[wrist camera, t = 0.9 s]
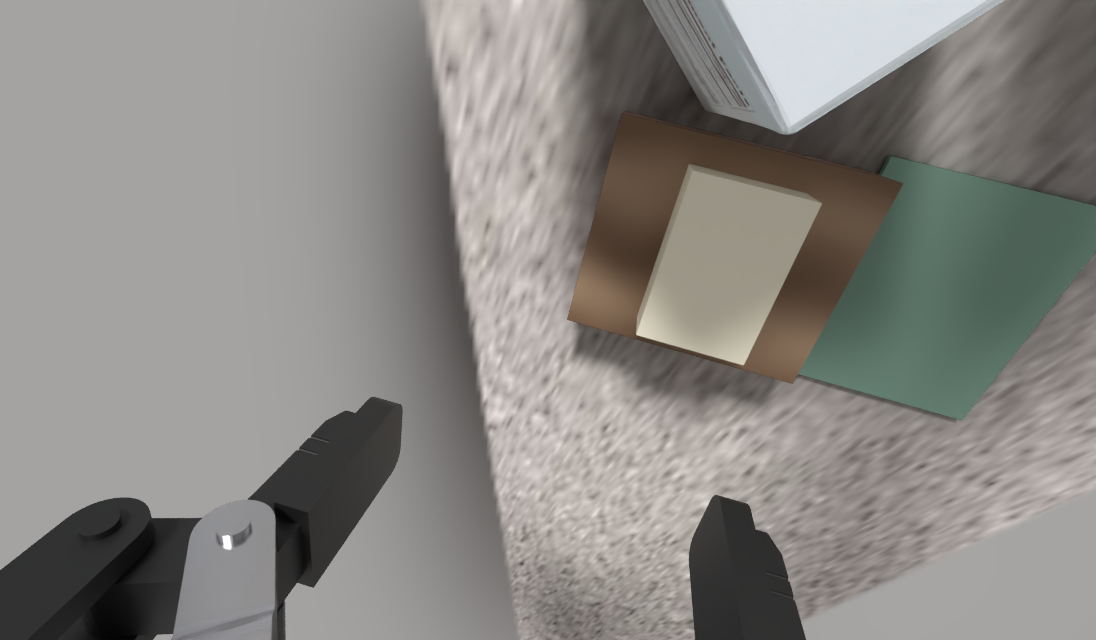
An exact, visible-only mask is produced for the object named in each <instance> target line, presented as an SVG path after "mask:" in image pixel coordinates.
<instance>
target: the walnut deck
mask: <svg viewBox="0 0 1096 640" xmlns="http://www.w3.org/2000/svg"><path fill="white" fill-rule="evenodd" d="M689 164H693V165H697V166H700V167H704V168H708V169H712V170H716V171H720V172H724V173H728V174H732V175H736V176H740V177H744V178H748V179H752V180H756V181H760V182H764V183H768V184H772V185H776V186H780V187H784V188H788V189H792V190H796V191H799V192H803V193H807V194H808V195H810V196H811V197H813V198H815V199H816V200H818V201H819V202H821V203H822V205H821V207H820V209H819V211H818V213H817V215H816V217H815V219H814V221H813V224H812V226H811V228H810V230H809V232H808V234H807V236H806V238H805V240H804V242H803V244H802V246H801V248H800V250H799V252H798V254H797V256H796V259H795V261H794V263H793V265H792V267H791V269H790V271H789V273H788V275H787V277H786V279H785V281H784V283H783V285H782V287H781V289H780V292H779V294H778V296H777V298H776V300H775V302H774V304H773V306H772V308H771V310H770V312H769V314H768V316H767V318H766V320H765V322H764V324H763V327H762V329H761V331H760V333H759V335H758V337H757V339H756V341H755V343H754V345H753V347H752V349H751V351H750V353H749V355H748V357H747V360H746V362H745V364H744V365H740V364H737V363H733V362H730V361H726V360H723V359H719V358H716V357H712V356H708V355H705V354H701V353H698V352H694V351H691V350H687V349H684V348H680V347H677V346H673V345H670V344H666V343H663V342H659V341H656V340H652V339H648V338H645V337H641V336H638V335H636V326H637V315H638V312H639V309H640V306H641V303H642V300H643V297H644V294H645V291H646V289H647V286H648V283H649V280H650V277H651V274H652V271H653V268H654V265H655V262H656V259H657V256H658V253H659V250H660V247H661V244H662V242H663V239H664V236H665V233H666V230H667V227H668V224H669V221H670V218H671V215H672V212H673V209H674V206H675V203H676V200H677V197H678V195H679V192H680V189H681V186H682V183H683V180H684V177H685V174H686V171H687V168H688V165H689ZM903 184H904V183H901V182H898V181H895V180H892V179H890V178H887V177H884V176H881V175H878V174H875V173H872V172H870V171H865V170H861V169H857V168H853V167H849V166H845V165H841V164H837V163H833V162H829V161H825V160H821V159H817V158H813V157H809V156H805V155H801V154H796V153H792V152H788V151H784V150H780V149H776V148H772V147H768V146H764V145H760V144H756V143H752V142H748V141H744V140H740V139H736V138H732V137H728V136H723V135H719V134H715V133H711V132H707V131H703V130H699V129H695V128H691V127H687V126H683V125H679V124H675V123H671V122H667V121H663V120H659V119H654V118H650V117H646V116H642V115H638V114H634V113H630V112H626V111H625V112H623V113H622V114H621V117H620V121H619V125H618V129H617V132H616V136H615V140H614V144H613V148H612V151H611V155H610V159H609V163H608V167H607V170H606V174H605V178H604V182H603V185H602V189H601V193H600V197H599V201H598V204H597V208H596V212H595V216H594V220H593V223H592V227H591V231H590V235H589V239H588V242H587V246H586V250H585V254H584V257H583V261H582V265H581V269H580V273H579V276H578V280H577V284H576V288H575V292H574V295H573V299H572V303H571V307H570V311H569V314H568V318H567V320H570V321H574V322H577V323H581V324H584V325H588V326H591V327H595V328H598V329H602V330H605V331H609V332H612V333H616V334H620V335H623V336H627V337H630V338H634V339H637V340H641V341H644V342H648V343H651V344H655V345H658V346H662V347H665V348H669V349H672V350H676V351H679V352H683V353H686V354H690V355H693V356H697V357H701V358H704V359H708V360H711V361H715V362H718V363H722V364H725V365H729V366H732V367H736V368H739V369H743V370H746V371H750V372H753V373H757V374H760V375H764V376H767V377H771V378H774V379H778V380H782V381H785V382H789V383H792V384H793V382H794V380H795V378H796V377H797V375H798V373H799V371H800V369H801V368H802V366H803V364H804V362H805V360H806V359H807V357H808V355H809V353H810V351H811V350H812V348H813V346H814V344H815V342H816V341H817V339H818V337H819V335H820V333H821V332H822V330H823V328H824V326H825V324H826V323H827V321H828V319H829V317H830V315H831V314H832V312H833V310H834V308H835V306H836V305H837V303H838V301H839V299H840V297H841V296H842V294H843V292H844V290H845V288H846V287H847V285H848V283H849V281H850V279H851V278H852V276H853V274H854V272H855V270H856V269H857V267H858V265H859V263H860V261H861V260H862V258H863V256H864V254H865V252H866V251H867V249H868V247H869V245H870V243H871V241H872V240H873V238H874V236H875V234H876V232H877V231H878V229H879V227H880V225H881V223H882V222H883V220H884V218H885V216H886V214H887V213H888V211H889V209H890V207H891V205H892V204H893V202H894V200H895V198H896V196H897V195H898V193H899V191H900V189H901V187H902V186H903Z"/></svg>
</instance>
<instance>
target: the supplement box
mask: <svg viewBox="0 0 1096 640" xmlns="http://www.w3.org/2000/svg"><path fill="white" fill-rule="evenodd" d="M1003 1H1005V0H643V2H644V4H645V5H646V7H647V9H648V11H649V12H650V14H651V16H652V18H653V20H654V21H655V23H656V25H657V27H658V28H659V30H660V32H661V34H662V36H663V37H664V39H665V41H666V43H667V44H668V46H669V48H670V50H671V52H672V53H673V55H674V57H675V59H676V60H677V62H678V64H679V66H680V68H681V69H682V71H683V73H684V75H685V76H686V78H687V80H688V82H689V84H690V85H691V87H692V89H693V90H694V92H695V94H696V96H697V97H698V99H699V101H700V102H701V104H702V106H703V107H704V109H705V111H707V112H714V113H717V114H721V115H724V116H728V117H732V118H735V119H739V120H742V121H745V122H749V123H753V124H756V125H759V126H762V127H765V128H768V129H770V130H773V131H775V132H777V133H780V134H785V135H790V134H794V133H796V132H797V131H799V130H801V129H802V128H804V127H805V126H807V125H809V124H810V123H812V122H813V121H815V120H817V119H818V118H820V117H821V116H823V115H825V114H826V113H828V112H829V111H831V110H832V109H834V108H836V107H837V106H839V105H840V104H842V103H843V102H845V101H847V100H848V99H850V98H851V97H853V96H855V95H856V94H858V93H859V92H861V91H862V90H864V89H866V88H867V87H869V86H870V85H872V84H873V83H875V82H877V81H878V80H880V79H881V78H883V77H885V76H886V75H888V74H889V73H891V72H892V71H894V70H896V69H897V68H899V67H900V66H902V65H903V64H905V63H907V62H908V61H910V60H911V59H913V58H915V57H916V56H918V55H919V54H921V53H922V52H924V51H926V50H927V49H929V48H930V47H932V46H933V45H935V44H937V43H938V42H940V41H941V40H943V39H944V38H946V37H948V36H949V35H951V34H952V33H954V32H956V31H957V30H959V29H960V28H962V27H963V26H965V25H967V24H968V23H970V22H971V21H973V20H974V19H976V18H978V17H979V16H981V15H982V14H984V13H986V12H987V11H989V10H990V9H992V8H993V7H995V6H997V5H998V4H1000V3H1001V2H1003Z"/></svg>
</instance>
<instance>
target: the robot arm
mask: <svg viewBox="0 0 1096 640" xmlns="http://www.w3.org/2000/svg"><path fill="white" fill-rule="evenodd" d="M401 429H402V405H401V404H398V403H394V402H391V401H387V400H384V399H380V398H376V397H371V398H370V399H369V400H367V401H366V402H365V404H364V405H363V406H362V407H361V408H360V409H359V410H358V411H357V412H356V413H353V412H350V411H344V412H342V413H340V414H338V415H336V416H334V417H332V418H330V419H328V420H327V421H325V422H324V423H323V424H322V425H321V426H320V427H319V428H318V429H317V430H316V431H315V432H314V433H313V434H312V436H311V438H308V439H307V440H306V441H305V442H304V443H303V444H302V446H300V448H299V450H298V451H295V452H294V453H293V454H292V455H291V457H289V458H288V459H287V461H286V462H285V463H284V464H283V465H282V466H281V467H280V468H279V469H278V470H277V471H276V472H275V473H274V474H273V475H272V476H271V477H270V478H269V479H268V480H267V481H266V482H265V483H264V484H263V485H262V486H261V487H260V488H259V489H258V490H257V491H256V492H255V493H254V494H253V495H252V496H251V497H250V498H248V500H241V501H234V502H231V503H228V504H225V505H222V506H220V507H218V508H216V509H214V510H213V511H211V512H209V513H208V514H207V515H205V516H204V517H203V518H152V517H151V513H150V510H149V508H148V506H147V505H146V504H145V503H144V502H142V501H140V500H138V499H133V498H113V499H108V500H104V501H100V502H97V503H94V504H92V505H89V506H87V507H85V508H83V509H81V510H79V511H77V512H75V513H74V514H72V515H71V516H69V517H68V518H67V519H65V520H64V521H63V522H61V523H60V524H59V525H57V526H56V527H55V528H54V529H53V530H51V531H50V532H49V533H47V534H46V535H45V536H43V537H42V538H41V539H40V540H38V541H37V542H36V543H34V544H33V545H32V546H31V547H29V548H28V549H27V550H26V551H24V552H23V553H22V554H20V555H19V556H18V557H17V558H15V559H14V560H13V561H11V562H10V563H9V564H8V565H6V566H5V567H4V568H2V570H0V640H153V639H154V638H155V636H156V635H158V634H173V636H172V639H171V640H286V637H285V636H286V635H285V598H286V597H287V596H288V594H289V593H290V592H291V590H292V589H293V587H294V586H295V585H296V583H300V584H303V585H307V586H310V587H314V586H315V585H316V583H317V582H318V580H319V579H320V577H321V576H322V574H323V573H324V572H325V570H326V569H327V567H328V566H329V564H330V563H331V561H332V560H333V558H334V557H335V555H336V554H337V552H338V551H339V549H340V548H341V547H342V545H343V544H344V542H345V541H346V539H347V538H348V536H349V535H350V533H351V532H352V530H353V529H354V528H355V526H356V525H357V523H358V522H359V520H360V519H361V517H362V516H363V514H364V513H365V511H366V510H367V508H368V507H369V506H370V504H371V503H372V501H373V500H374V498H375V497H376V495H377V494H378V492H379V491H380V489H381V488H382V486H383V485H384V483H385V482H386V481H387V479H388V478H389V476H390V475H391V473H392V472H393V470H394V468H395V466H396V463H397V461H398V457H399V454H400V447H401ZM689 569H690V581H691V593H692V605H693V617H694V630H695V640H806V638H805V634H804V631H803V627H802V624H801V620H800V617H799V613H798V610H797V606H796V603H795V601H794V600H793V592H792V589H791V585H790V582H788V575H787V571H786V568H785V564H784V561H783V557H782V554H781V553H780V551H779V550H778V548H777V547H776V545H775V544H774V542H773V541H772V539H771V538H770V536H769V535H768V533H766V532H762V531H759V530H755V526H754V522H753V517H752V513H751V510H750V507H749V505H748V504H746V503H743V502H739V501H736V500H732V499H729V498H725V497H722V496H718V495H714V496H713V497H712V499H711V501H710V503H709V505H708V507H707V509H706V511H705V513H704V515H703V517H702V519H701V521H700V523H699V525H698V527H697V529H696V531H695V533H694V536H693V538H692V542H691V546H690V552H689Z"/></svg>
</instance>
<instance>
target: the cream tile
mask: <svg viewBox="0 0 1096 640" xmlns="http://www.w3.org/2000/svg"><path fill="white" fill-rule="evenodd" d="M821 205H822V203H821V202H819V201H818V200H816V199H815V198H813V197H811V196H810V195H808V194H807V193H803V192H799V191H796V190H792V189H788V188H784V187H780V186H776V185H772V184H768V183H764V182H760V181H756V180H752V179H748V178H744V177H740V176H736V175H732V174H728V173H724V172H720V171H716V170H712V169H708V168H704V167H700V166H697V165H693V164H689V165H688V168H687V171H686V174H685V177H684V180H683V183H682V186H681V189H680V192H679V195H678V197H677V200H676V203H675V206H674V209H673V212H672V215H671V218H670V221H669V224H668V227H667V230H666V233H665V236H664V239H663V242H662V244H661V247H660V250H659V253H658V256H657V259H656V262H655V265H654V268H653V271H652V274H651V277H650V280H649V283H648V286H647V289H646V291H645V294H644V297H643V300H642V303H641V306H640V309H639V312H638V315H637V326H636V335H638V336H641V337H645V338H648V339H652V340H656V341H659V342H663V343H666V344H670V345H673V346H677V347H680V348H684V349H687V350H691V351H694V352H698V353H701V354H705V355H708V356H712V357H716V358H719V359H723V360H726V361H730V362H733V363H737V364H740V365H744V364H745V362H746V360H747V357H748V355H749V353H750V351H751V349H752V347H753V345H754V343H755V341H756V339H757V337H758V335H759V333H760V331H761V329H762V327H763V324H764V322H765V320H766V318H767V316H768V314H769V312H770V310H771V308H772V306H773V304H774V302H775V300H776V298H777V296H778V294H779V292H780V289H781V287H782V285H783V283H784V281H785V279H786V277H787V275H788V273H789V271H790V269H791V267H792V265H793V263H794V261H795V259H796V256H797V254H798V252H799V250H800V248H801V246H802V244H803V242H804V240H805V238H806V236H807V234H808V232H809V230H810V228H811V226H812V224H813V221H814V219H815V217H816V215H817V213H818V211H819V209H820V207H821Z"/></svg>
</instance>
